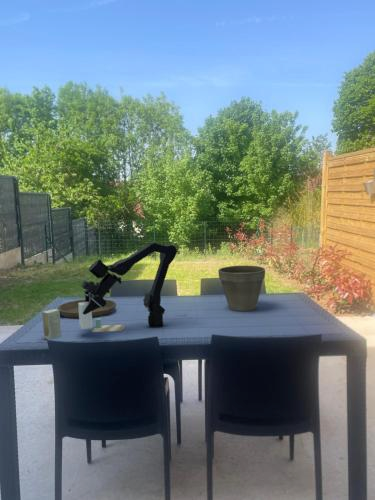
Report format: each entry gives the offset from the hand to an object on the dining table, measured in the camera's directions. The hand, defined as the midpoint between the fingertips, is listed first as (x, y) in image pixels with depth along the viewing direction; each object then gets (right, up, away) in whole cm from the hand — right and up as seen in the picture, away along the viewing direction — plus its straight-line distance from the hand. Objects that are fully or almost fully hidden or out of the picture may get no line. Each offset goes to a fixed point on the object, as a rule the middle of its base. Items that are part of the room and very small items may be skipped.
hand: (82, 312), depth 187 cm
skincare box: (-13, -11, +2) cm, 18 cm away
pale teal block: (+4, -9, +14) cm, 17 cm away
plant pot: (+76, -4, +45) cm, 88 cm away
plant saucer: (-8, -7, +45) cm, 47 cm away
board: (+10, -10, +12) cm, 18 cm away
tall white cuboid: (+1, -6, +1) cm, 7 cm away
